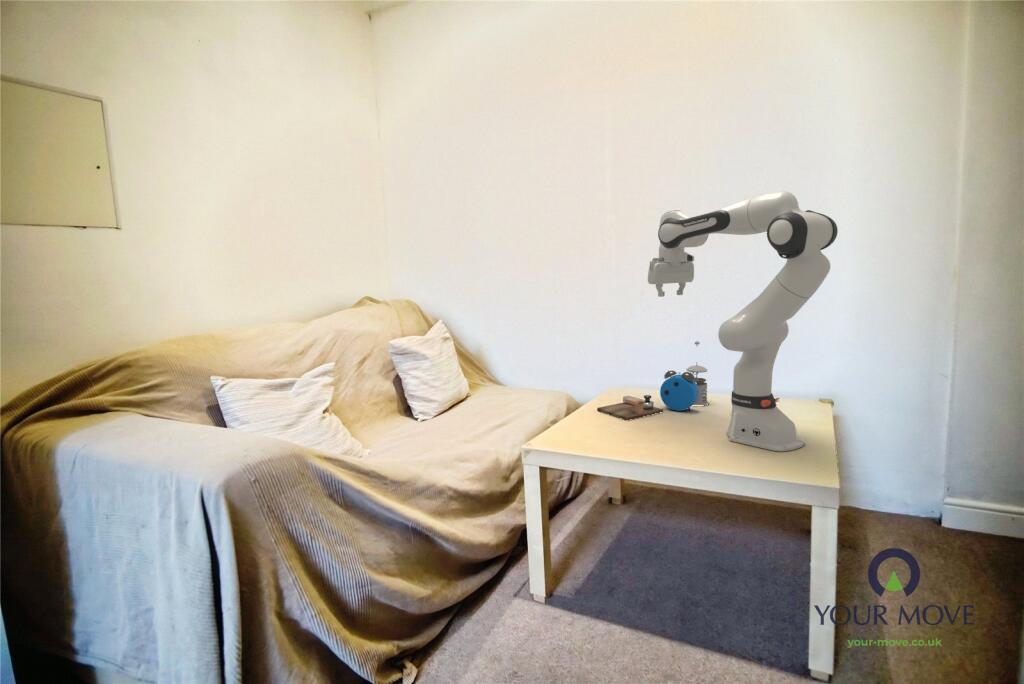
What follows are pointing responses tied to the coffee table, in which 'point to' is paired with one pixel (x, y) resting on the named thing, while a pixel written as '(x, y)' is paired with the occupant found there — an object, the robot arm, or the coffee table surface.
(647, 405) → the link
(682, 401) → the alarm clock
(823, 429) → the coffee table surface
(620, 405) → the pivot board
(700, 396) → the french press
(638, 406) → the keeper
